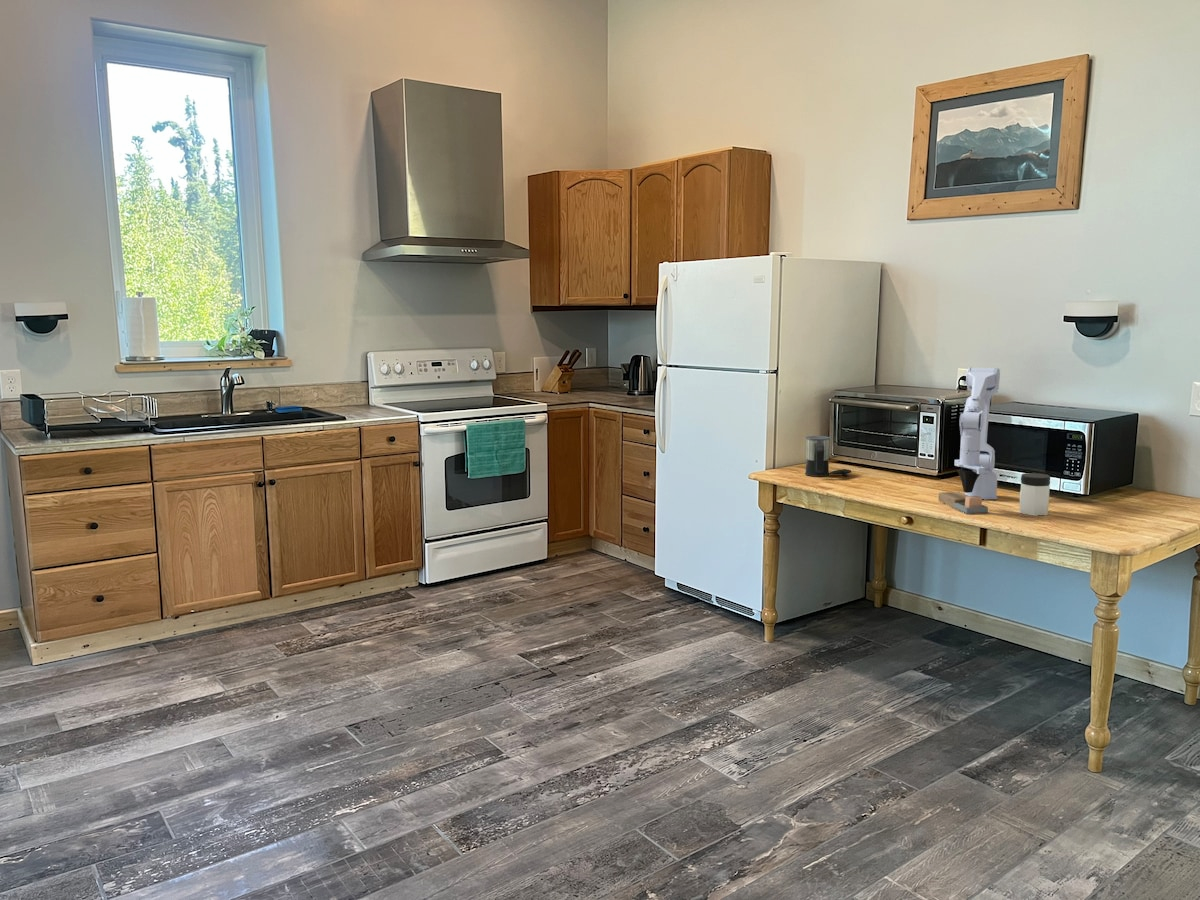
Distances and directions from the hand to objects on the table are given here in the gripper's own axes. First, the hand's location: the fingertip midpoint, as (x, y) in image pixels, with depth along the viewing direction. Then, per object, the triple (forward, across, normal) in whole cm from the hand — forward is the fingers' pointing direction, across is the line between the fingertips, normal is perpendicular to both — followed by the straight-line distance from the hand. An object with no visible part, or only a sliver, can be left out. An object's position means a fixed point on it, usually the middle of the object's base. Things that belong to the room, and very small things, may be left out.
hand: (967, 492), depth 274 cm
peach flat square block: (+3, 0, +1) cm, 4 cm away
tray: (+6, 0, +1) cm, 6 cm away
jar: (+6, +6, +19) cm, 21 cm away
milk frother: (+7, -63, -22) cm, 67 cm away
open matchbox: (+6, -9, +1) cm, 11 cm away
